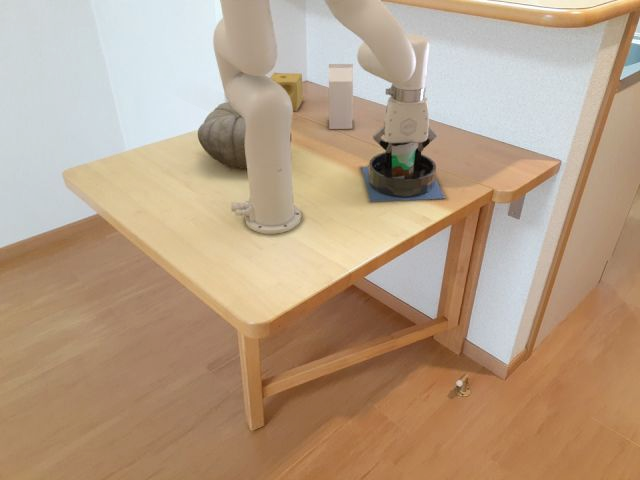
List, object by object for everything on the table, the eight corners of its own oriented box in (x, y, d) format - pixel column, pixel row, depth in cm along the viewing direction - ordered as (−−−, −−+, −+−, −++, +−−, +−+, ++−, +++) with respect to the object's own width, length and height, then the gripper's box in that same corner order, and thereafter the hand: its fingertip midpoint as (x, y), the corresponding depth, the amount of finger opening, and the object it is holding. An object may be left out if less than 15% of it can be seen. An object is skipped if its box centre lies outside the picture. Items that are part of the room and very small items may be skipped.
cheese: (268, 110, 173) (265, 81, 167) (275, 99, 182) (273, 71, 176) (298, 112, 172) (296, 82, 166) (304, 100, 180) (303, 72, 175)
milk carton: (352, 129, 159) (353, 67, 148) (329, 129, 159) (328, 67, 148) (351, 120, 165) (352, 60, 154) (329, 121, 165) (328, 60, 154)
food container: (417, 185, 123) (418, 147, 118) (391, 185, 124) (391, 147, 119) (418, 163, 133) (419, 126, 128) (394, 163, 134) (394, 127, 129)
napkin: (370, 201, 122) (370, 200, 122) (361, 167, 137) (361, 166, 137) (444, 198, 123) (445, 197, 123) (427, 165, 138) (428, 164, 138)
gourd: (210, 180, 127) (205, 109, 120) (191, 157, 147) (186, 95, 140) (304, 171, 136) (304, 104, 129) (274, 150, 157) (272, 91, 150)
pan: (373, 200, 123) (374, 181, 120) (364, 169, 137) (365, 151, 134) (440, 197, 124) (443, 179, 121) (425, 166, 137) (427, 149, 134)
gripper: (373, 100, 114) (369, 173, 124) (449, 97, 114) (440, 170, 125) (368, 88, 120) (365, 159, 130) (441, 86, 120) (433, 156, 131)
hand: (402, 164), depth 127 cm, fingers closed on food container, 5 cm apart
